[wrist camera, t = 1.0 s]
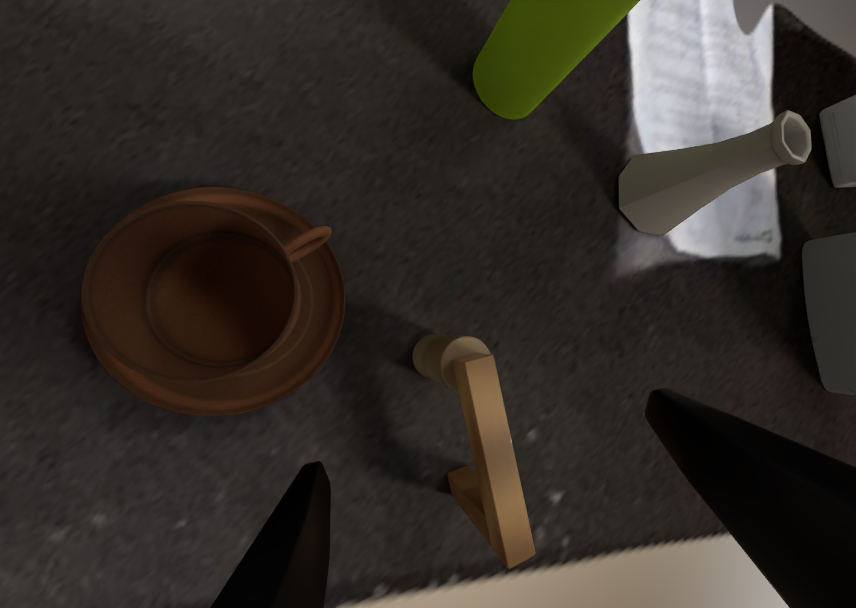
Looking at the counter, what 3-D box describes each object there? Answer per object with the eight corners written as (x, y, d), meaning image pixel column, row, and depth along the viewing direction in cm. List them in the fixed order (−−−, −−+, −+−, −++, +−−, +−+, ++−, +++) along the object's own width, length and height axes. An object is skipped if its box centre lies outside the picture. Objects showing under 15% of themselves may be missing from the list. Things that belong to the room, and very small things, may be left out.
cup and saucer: (213, 158, 19) (165, 83, 13) (380, 281, 22) (402, 265, 16) (45, 328, 16) (-113, 328, 10) (260, 446, 19) (232, 501, 13)
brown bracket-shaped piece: (481, 483, 23) (547, 548, 16) (441, 499, 22) (495, 576, 15) (448, 329, 23) (501, 331, 16) (408, 339, 22) (446, 345, 15)
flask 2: (680, 182, 31) (837, 119, 22) (664, 249, 30) (822, 213, 20) (625, 143, 29) (771, 56, 20) (605, 213, 28) (751, 155, 19)
